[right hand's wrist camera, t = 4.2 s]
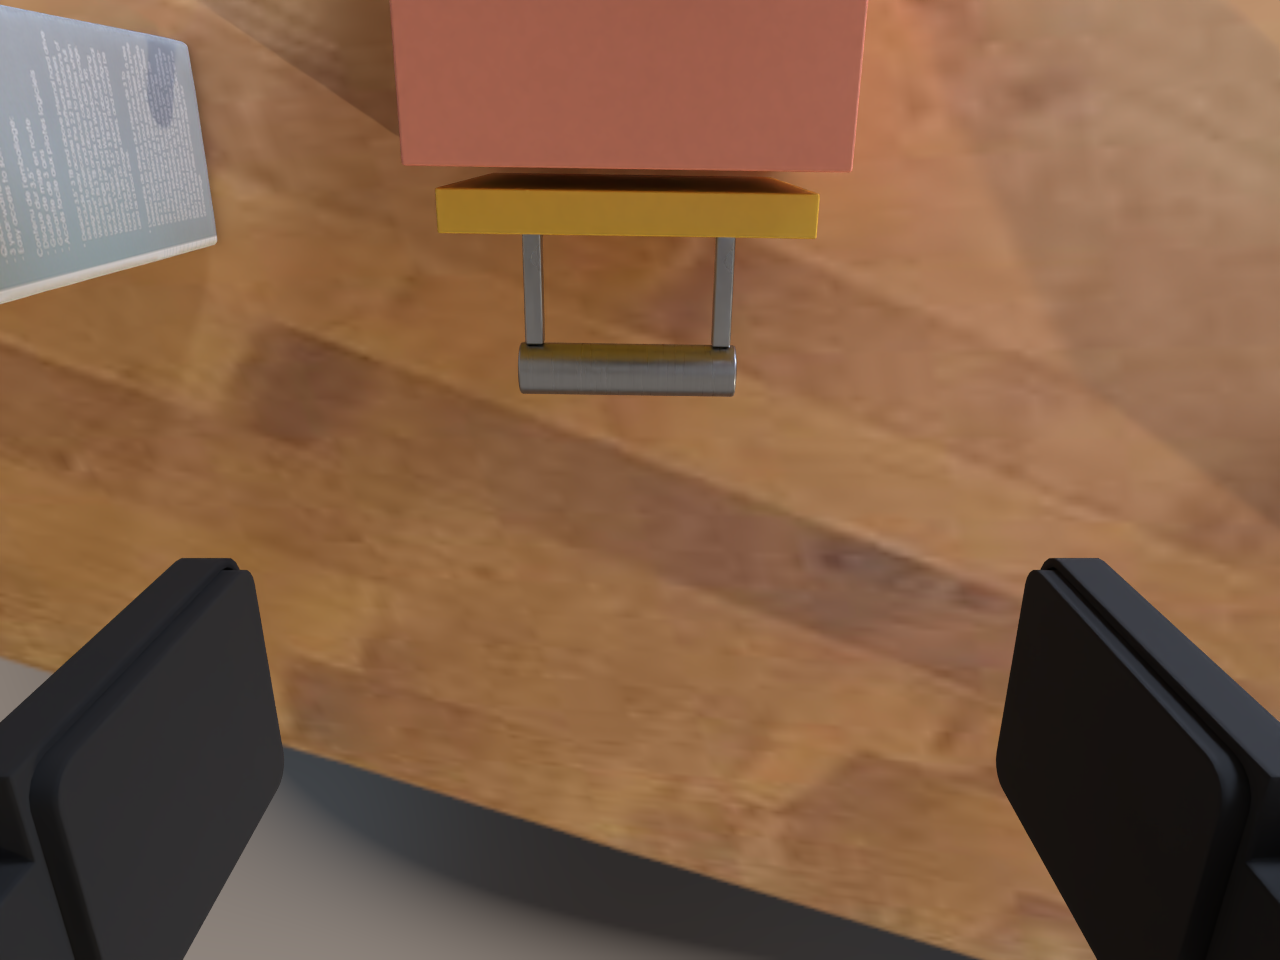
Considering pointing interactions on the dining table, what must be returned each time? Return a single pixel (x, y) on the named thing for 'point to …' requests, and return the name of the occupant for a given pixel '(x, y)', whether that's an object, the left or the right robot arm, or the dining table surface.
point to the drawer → (627, 212)
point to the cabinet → (629, 83)
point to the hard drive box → (95, 152)
